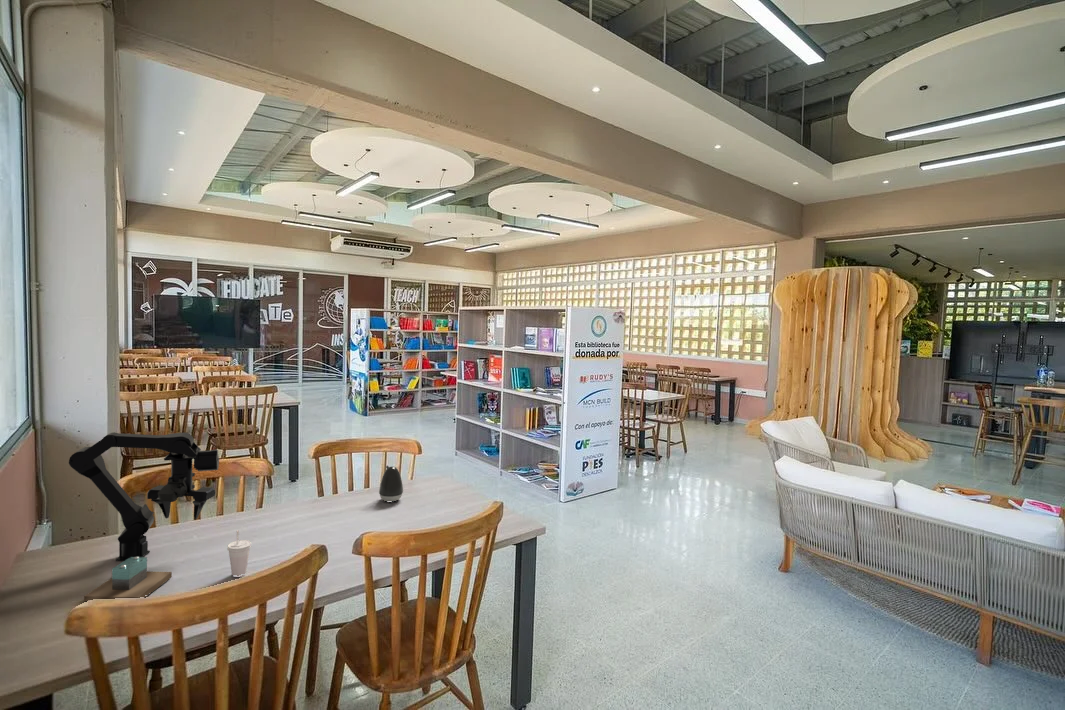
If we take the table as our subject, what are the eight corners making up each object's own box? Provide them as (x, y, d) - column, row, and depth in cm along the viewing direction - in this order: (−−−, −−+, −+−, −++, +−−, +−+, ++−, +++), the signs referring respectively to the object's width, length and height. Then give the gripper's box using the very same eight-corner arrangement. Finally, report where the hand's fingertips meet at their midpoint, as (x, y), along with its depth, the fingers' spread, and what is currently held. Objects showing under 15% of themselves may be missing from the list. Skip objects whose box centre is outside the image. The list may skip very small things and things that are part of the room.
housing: (130, 577, 149) (130, 555, 148) (146, 577, 149) (146, 556, 149) (112, 589, 142) (112, 567, 141) (129, 590, 142) (129, 567, 142)
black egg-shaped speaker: (396, 495, 234) (397, 462, 233) (406, 501, 226) (407, 467, 225) (374, 499, 227) (375, 465, 226) (384, 506, 219) (385, 471, 218)
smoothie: (224, 574, 157) (224, 529, 156) (247, 567, 161) (248, 524, 161) (230, 582, 152) (230, 536, 152) (253, 575, 157) (254, 531, 156)
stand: (83, 603, 138) (83, 596, 138) (122, 577, 152) (122, 570, 152) (138, 604, 139) (138, 597, 139) (171, 578, 153) (171, 571, 153)
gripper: (134, 478, 160) (134, 527, 161) (196, 480, 161) (195, 529, 162) (159, 468, 171) (158, 514, 172) (216, 470, 172) (215, 516, 173)
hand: (181, 518), depth 169 cm, fingers open, 9 cm apart
